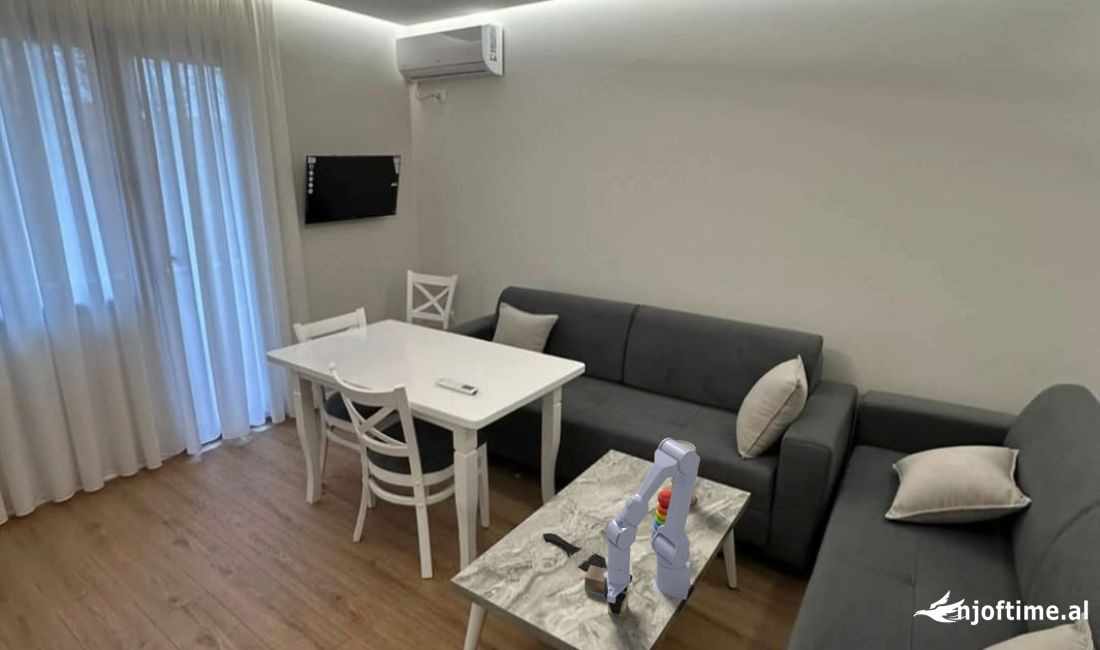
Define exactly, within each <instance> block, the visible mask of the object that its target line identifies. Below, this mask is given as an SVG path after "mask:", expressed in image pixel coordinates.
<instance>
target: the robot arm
mask: <svg viewBox="0 0 1100 650" xmlns="http://www.w3.org/2000/svg"><path fill="white" fill-rule="evenodd" d="M700 462H701V457H700V455H698V453H697V451H696V452H694V451H692V450H690V449H688V448H686V447H685V446H683V445H681V444H679V443H678V442H676V440H674V439H673V438H672V437H666V438H664V439H662V441H661V442H660V443H659V445H658V448H657V449H655V451H654V463H653V464H652V466H651V468H650V470H649V472H648V473H647V475H646V477H645V479H644V480H643V483H642V485H641V486H640V488H639V489H638V491H637V493H636V494H632V495H630V496H629V498H627V500H626V502H625V503H624V505H623V506H622V508H621V509H620V511H619V512H618V514H617V515H616V517H615V518H611V519H610V520H609V521H607V523H606V524H605V527H604V530H603V535H604V537H606V543H607V569H608V572H605V573H604V575H603V578H604V579H607V585H608V588H605V590H604V596H603V597H604V598H605V599H606V602H607V604H608V603H609V606H610V609H611V612H612V613H613V614H612V615H614V614H617V615H616V616H618V615H619V613H620V611H621V606H622V602H623V601H624V599H625V597H626V594H623V593H620V592H621V591H626V592H628V588H629V586H630V584H631V583H632V581H633V575H632V574H631V573H630V572H631V567H630V566H631V546H633V544H634V543H635V542H636V538H637V537H636V536H637V533H638V527H639V526H640V523H642V521H643V519H644V517H646V514H647V513H648V512H649V510H650V507H649V502H650V501H651V499H653V498H652V497H653V496H655V494H656V493H657V491H658V490H659V489H660V488H661V486H662V485H663V484H664V482H665V481H666V480H667V478H668V479H669V478H670V479H671V478H672V477H675V481H674V485H673V484H672V485H673V490H672V494H671V499H670V503H669V508H668V512H667V517H666V521H665V525H661V526H659V527H658V528H657V531H656V534H655V535H654V537H653V539H652V544H651V548H652V549H653V551H655V553H654V554H655V556H656V569H655V579H654V582H653V586H652V589H651V590H652V592H655V593H659V594H664V595H666V596H667V595H668V596H669V597H673V598H678V599H682V600H687V597H688V594H689V589H690V588H691V574H692V572H691V570H692V563H691V562H690V561H689V559H690V556H691V550H690V546H691V541H690V539H689V537H688V535H687V533H686V531H685V529H686V524H687V521H688V515H689V512H690V507H691V505H690V503H691V499H692V495H693V492H694V489H695V484H696V480H697V476H698V472H699V465H700Z"/></svg>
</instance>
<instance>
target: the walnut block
mask: <svg viewBox="0 0 1100 650" xmlns="http://www.w3.org/2000/svg"><path fill="white" fill-rule="evenodd" d="M605 572H608V568H604V567H597V566H593V565H590V567H589V569H588V571H586V574H585V575H584V585H585V589H586V590H589V591H593V592H597V593H600V594H603V593H604V590H605V588H606V586H607V579H604V578H603V575H604V573H605Z"/></svg>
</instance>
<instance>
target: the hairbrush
mask: <svg viewBox="0 0 1100 650" xmlns="http://www.w3.org/2000/svg"><path fill="white" fill-rule="evenodd" d="M543 537H544V539H545V540H544V539H543V540H544V541H547V542H550V543H554V544H557V545H559V546H561V547H563V548H564V550H565V553H566V554H567V557H568V559H569V558H570V559H571V557H573V556H574V554H575V553H576V556H577V557H578V558H577V557H576V556H575V561H576V562H577V559H578V561H581V558H584V560H583V561H582V562H581V563H580V564H578V565H577V568H579V569H581V570H583V571H586V572H587V571H588V569H589V567H590V565H593V566H597V567H601V568H603V567H604V566H605V565H606V558H605V555H602V553H600V552H599V553H596V552H593V553H592V554H591V555H590V550H589V551H586V550H587V549H586V547H585V546H584V548H583V546H581V547H578V546H575V545H574V544H573V543H569V541H567V540H565V539H563V538H562V537H560V536H559V535H557V534H556V533H550V532H548V533H547V532H546V533H543V534H542V538H543ZM583 549H584V550H583ZM581 550H582V552H583V551H584V552H583V553H585V552H587V553H588V554H587V553H586V556H588V555H589V557H586V556H583V555H582V554H580V556H579V555H578V554H577V553H579V552H581ZM599 554H600V555H599ZM579 557H580V558H579ZM586 558H587V559H586Z"/></svg>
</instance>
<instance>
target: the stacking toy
mask: <svg viewBox="0 0 1100 650" xmlns="http://www.w3.org/2000/svg"><path fill="white" fill-rule="evenodd" d="M671 494H672V492H671V491H669V490H663V489H662V490H661V491H659V493H658V494H657V501H658V504H657V508H656V511H655V516H654V522H653V527H652V531H651V534H650V535H651V537H650V544H651V545H652V539H653V537H654V535H655V534H656V531H657V528H658V527H659V526H661V525H665V521H666V517H667V512H668V508H669V503H670V499H671Z"/></svg>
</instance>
